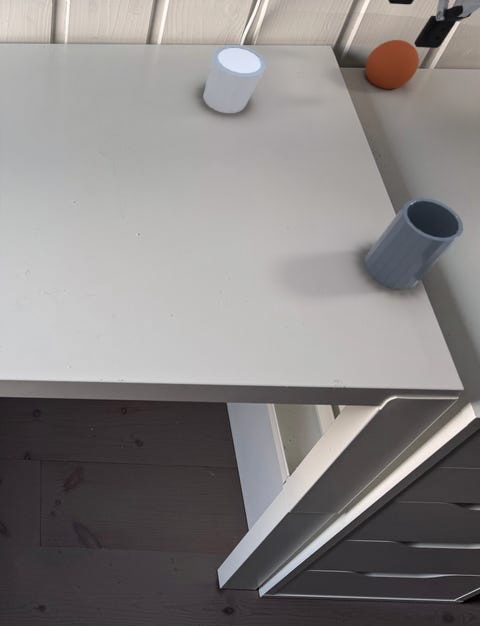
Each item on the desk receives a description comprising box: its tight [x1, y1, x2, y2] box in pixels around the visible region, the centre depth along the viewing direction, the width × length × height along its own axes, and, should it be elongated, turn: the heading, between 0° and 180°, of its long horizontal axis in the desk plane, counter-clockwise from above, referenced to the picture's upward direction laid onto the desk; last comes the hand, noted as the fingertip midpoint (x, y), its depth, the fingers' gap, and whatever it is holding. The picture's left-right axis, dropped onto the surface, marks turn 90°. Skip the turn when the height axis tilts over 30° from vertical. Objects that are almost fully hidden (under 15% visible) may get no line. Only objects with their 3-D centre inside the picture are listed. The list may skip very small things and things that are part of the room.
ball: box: [365, 39, 420, 90], centre depth 94 cm, size 6×6×6 cm
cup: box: [363, 197, 464, 291], centre depth 73 cm, size 6×6×9 cm
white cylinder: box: [202, 44, 267, 114], centre depth 89 cm, size 7×7×7 cm
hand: (412, 23), depth 89 cm, fingers open, 9 cm apart
